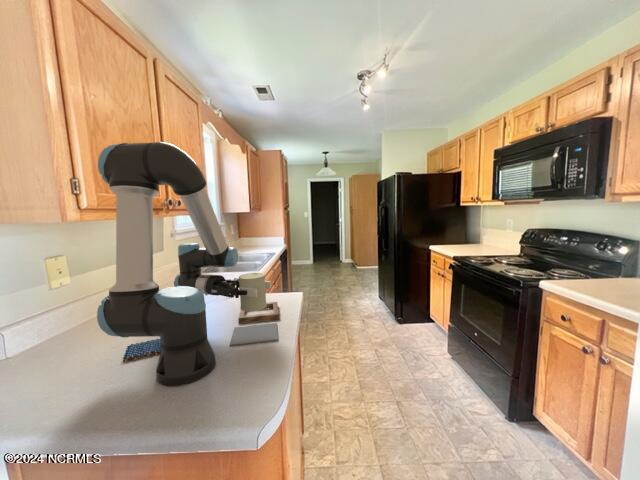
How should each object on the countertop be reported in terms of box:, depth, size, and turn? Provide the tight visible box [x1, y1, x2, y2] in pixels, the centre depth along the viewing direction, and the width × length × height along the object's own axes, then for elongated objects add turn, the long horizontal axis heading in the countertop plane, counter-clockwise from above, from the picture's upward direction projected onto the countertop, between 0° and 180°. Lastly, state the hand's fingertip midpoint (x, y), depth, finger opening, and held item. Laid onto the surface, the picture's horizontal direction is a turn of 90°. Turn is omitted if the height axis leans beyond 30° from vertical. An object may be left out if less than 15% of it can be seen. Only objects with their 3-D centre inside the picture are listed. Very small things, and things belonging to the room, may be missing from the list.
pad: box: [229, 322, 279, 348], centre depth 97 cm, size 16×14×1 cm
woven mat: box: [122, 338, 161, 363], centre depth 88 cm, size 10×11×2 cm
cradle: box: [237, 301, 280, 324], centre depth 117 cm, size 16×16×2 cm
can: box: [238, 272, 267, 313], centre depth 95 cm, size 9×9×12 cm
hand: (263, 288), depth 94 cm, fingers closed on can, 9 cm apart
